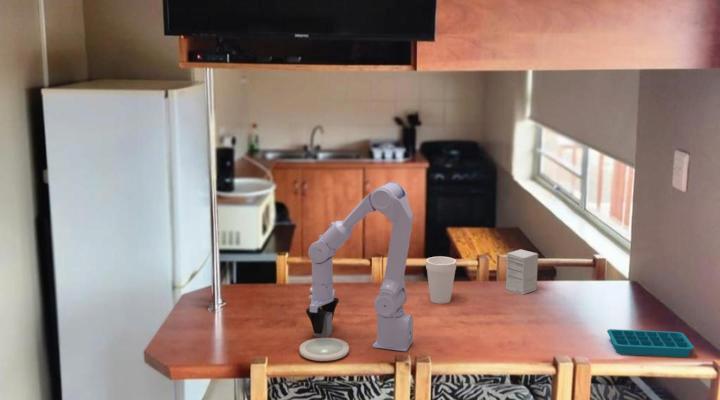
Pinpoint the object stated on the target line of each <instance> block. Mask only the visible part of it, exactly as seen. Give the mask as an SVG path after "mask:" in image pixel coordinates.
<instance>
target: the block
mask: <svg viewBox="0 0 720 400" xmlns="http://www.w3.org/2000/svg"><path fill="white" fill-rule="evenodd" d="M332 334H333V320H332V312H327V313H326V315H325V318H324V323H323V331H322V334H316V333H314V332H313V337H317V338H329V337H330V336H331V335H332Z"/></svg>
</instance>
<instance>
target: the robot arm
mask: <svg viewBox="0 0 720 400" xmlns="http://www.w3.org/2000/svg"><path fill="white" fill-rule="evenodd" d="M375 211H377V212H379V213H380V214H382V215H384V216H385V217H387V219H388V220H389V221H390V223H392V226H391V233H390V239H389V244H388V245H389V247H388V252H387V259H386V266H385V271H384V277H383V281H382V283H381V285H380V288H379V292H378V295H377V296H376V298H375V299H374V303H373V305H374V310H375V312H376V313H377V315H376V317H377V318H376V319H377V323H376V326H377V329H376V330H377V331H376V335H377V336H376V338H377V339H376V341H375V342H374V343H373V344H372V348H377V349H385V350H392V351H400V352H407V351H408V349H409V348H410V346H411V345H412V344H413V343H414V318H413V315H412V314H411V315H410V314H408V313H406V312H405V309H404V307H403V306H404V305H405V303H406V302H407V300H408V299H407V298H408V295H407V290H406V282H405V280H404V278H405V271H406V268H407V267H406V265H407V259H408V254H409V249H410V248H409V247H410V243H411V235H412V231H413V230H412V228H413V222H414V214H413V211H412V209H411V205H410V202H409V199H408V193H407V191H406V189H404V188H403V186H402V185H401V184H400V183H398V182H396V181H388V182H386V183H385V184H383V185H381V186H378V187H377V188H375V189H373V191H372V192H371V193H369V194H368V195H366V196H364V198H362V199H361V200H360V202H358V204H357V205H356V206H355V207H354V208H353V209H352V210H351V212H350V213H349V214H348V215H347V216H346V217H345V218H344V219H343V220H336V221H332V222H331V223H329V224H328V227H329V228H328V229H327V230H326V231H325V232H324V233H323V234H320V235H319V236H318V237H317V239H318V240H317V241H314V242H312V243H311V244H310V246H309V247H308V250H307V254H308V257H309V259H310V260H311V287H312V295H310V294H309V295H308V299H309V300H310V299H311V304H310V303H309V307H307V308H306V310H305V313H306V315H307V316H308V319H309V320H310V323H311V326H312V330H313V334H314V333H316V334H322V331H323V323H324V318H325V315H326V313H327V312H332V321H333V319H334V315H335V310H336V307H337V305H338V303H339V302H340V299H339V298H338V297H336V289H335V288H334V284H333V283H334V282H333V281H334V280H333V279H334V277H333V275H334V274H333V270H334V269H333V257H334V256H335V255H336V252H337V251H338V250H339V249H340V248H341V247H342V246H343V245H344V244H345V243H346V242H347V241H348V240H349V239H350V238H351V237H352V230H353V228H354V227H355V226H357V224H359V223H360V222H361V220H363V219H364V218H365V217H366V216H367V215H368V214H369V213H374V212H375ZM320 307H321V308H322V310H321V309H320Z"/></svg>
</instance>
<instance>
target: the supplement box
mask: <svg viewBox="0 0 720 400" xmlns="http://www.w3.org/2000/svg"><path fill="white" fill-rule="evenodd" d="M538 260H539V253H537V252H532V251H528V250H526V249H525V250H524V249H521V248H520V249H517V250H514V251H511V252H507V254H506V270H505V271H506V277H505V280H506V281H505V290H507V291H509V292H513V293H516V294H519V295H523V296H524V295H526V294H530V293H531V292H535V291H537V287H538V286H537V285H538V262H539V261H538Z"/></svg>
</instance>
